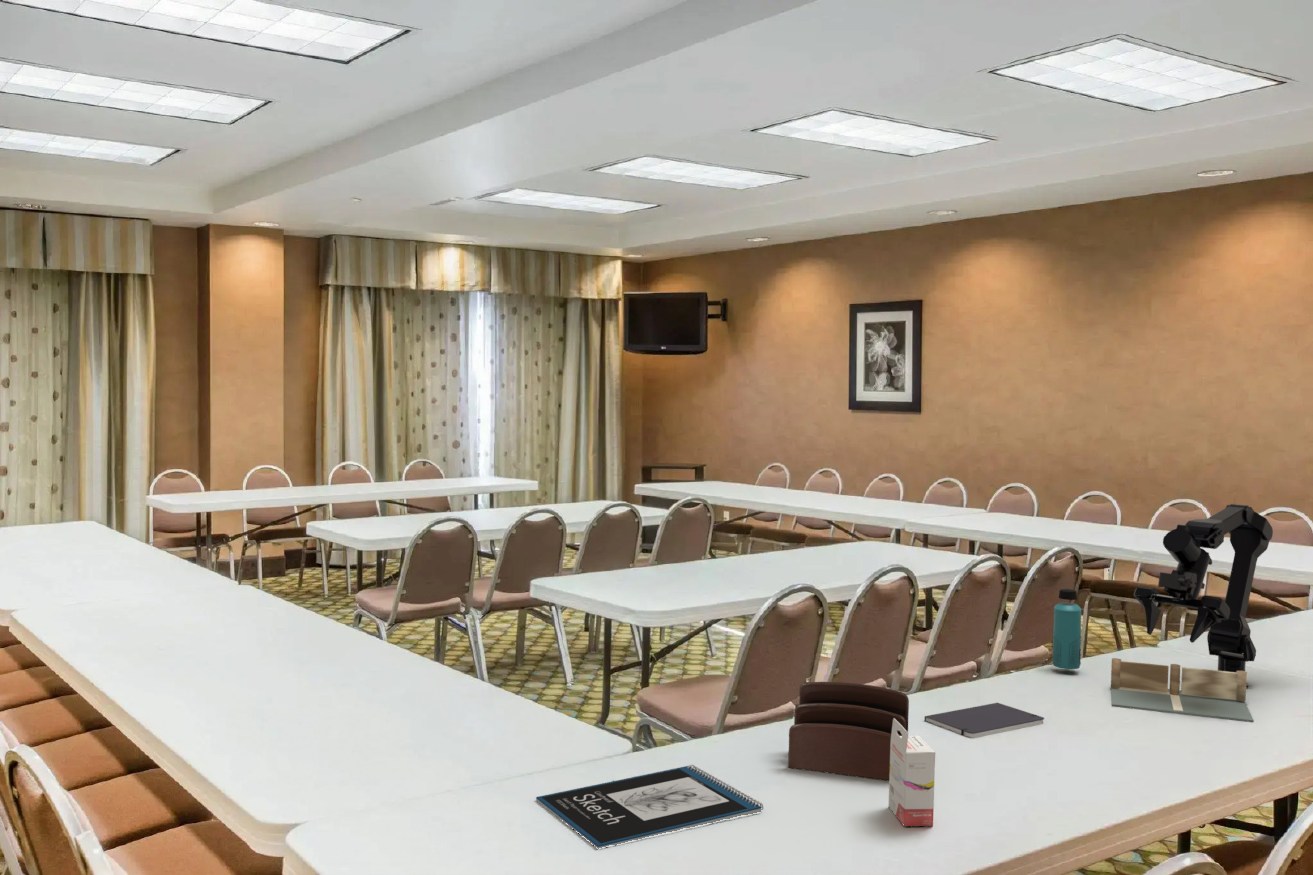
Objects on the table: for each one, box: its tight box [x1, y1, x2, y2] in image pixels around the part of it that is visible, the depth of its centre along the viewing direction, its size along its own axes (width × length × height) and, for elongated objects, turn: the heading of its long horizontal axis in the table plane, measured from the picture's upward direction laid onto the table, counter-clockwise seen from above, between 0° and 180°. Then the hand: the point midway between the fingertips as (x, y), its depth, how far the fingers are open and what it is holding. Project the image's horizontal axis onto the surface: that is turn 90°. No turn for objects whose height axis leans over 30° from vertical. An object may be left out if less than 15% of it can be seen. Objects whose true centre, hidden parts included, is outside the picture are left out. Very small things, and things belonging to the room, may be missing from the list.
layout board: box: [1110, 687, 1255, 723], centre depth 241 cm, size 19×27×1 cm
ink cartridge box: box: [888, 718, 936, 828], centre depth 174 cm, size 9×5×15 cm, turn 5°
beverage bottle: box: [1051, 588, 1082, 670], centre depth 265 cm, size 6×7×20 cm
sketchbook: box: [535, 764, 764, 850], centre depth 177 cm, size 22×30×2 cm
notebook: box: [923, 702, 1045, 739], centre depth 225 cm, size 13×2×21 cm
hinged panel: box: [1180, 666, 1248, 702], centre depth 243 cm, size 13×2×6 cm, turn 68°
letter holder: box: [787, 681, 910, 782], centre depth 197 cm, size 10×20×14 cm, turn 71°
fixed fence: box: [1110, 657, 1181, 695], centre depth 248 cm, size 2×14×7 cm, turn 68°
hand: (1169, 637), depth 238 cm, fingers open, 9 cm apart
